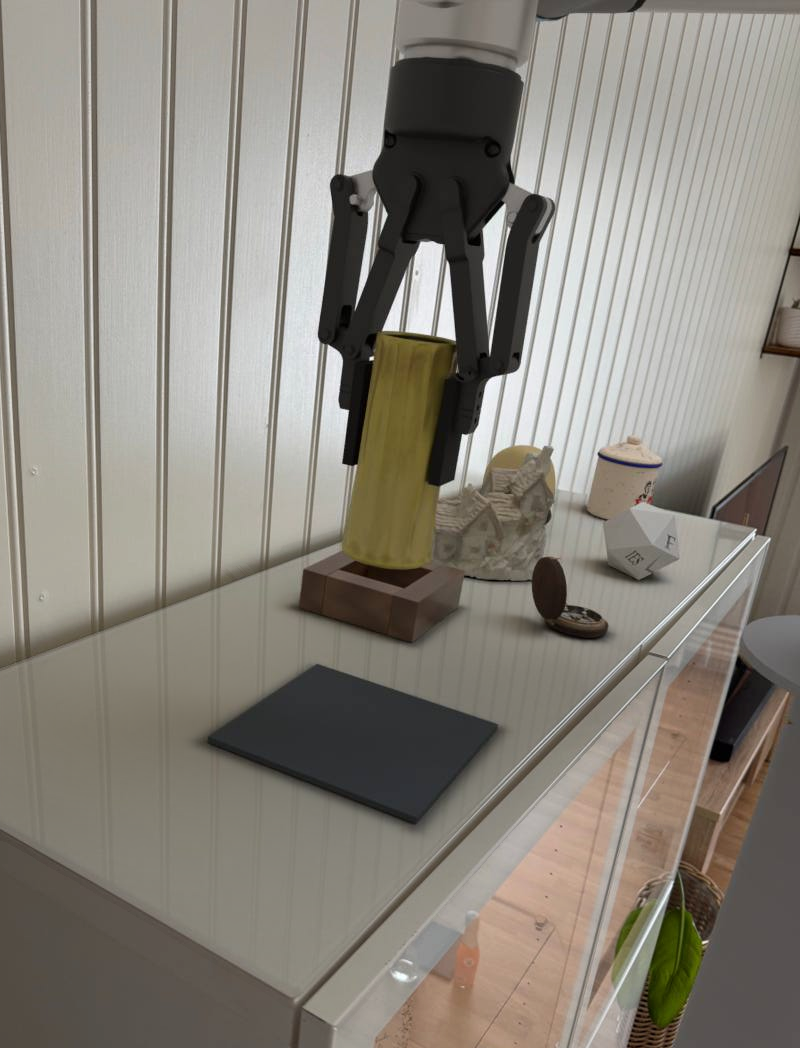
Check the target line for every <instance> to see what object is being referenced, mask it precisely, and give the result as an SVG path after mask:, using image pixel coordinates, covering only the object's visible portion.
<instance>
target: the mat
mask: <svg viewBox="0 0 800 1048" xmlns="http://www.w3.org/2000/svg"><path fill="white" fill-rule="evenodd" d="M498 728H499V724H498V723H496V722H493V721H490V720H487V719H483V718H481V717H478V716H475V715H472V714H469V713H466V712H463V711H460V710H456V709H454V708H451V707H448V706H445V705H442V704H440V703H435V702H433V701H430V700H427V699H424V698H421V697H419V696H416V695H412V694H409V693H406V692H404V691H400V690H397V689H395V688H392V687H388V686H385V685H382V684H379V683H376V682H374V681H371V680H367V679H364V678H361V677H358V676H356V675H352V674H350V673H346V672H343V671H340V670H337V669H334V668H332V667H328V666H325V665H322V664H319V663H316V664H314V665H313V666H312V667H310V668H308V669H306V670H305V671H304V672H303V673H301V674H299V675H298V676H297V677H295V678H293V679H291V680H290V681H289V682H287V683H285V684H284V685H283V686H281V687H280V688H278V689H277V690H275V691H274V692H272V693H270V694H269V695H267V696H266V697H265V698H263V699H262V700H260V701H259V702H257V703H256V704H254V705H253V706H251V707H250V708H249V709H247V710H246V711H244V712H242V713H241V714H239V715H238V716H237V717H235V718H233V719H232V720H230V721H229V722H228V723H226V724H224V725H222V726H221V727H219V728H218V729H217V730H215V731H213V732H212V733H210V734H209V735H208V736H207V740H206V741H207V742H206V743H208V744H211V745H213V746H216V747H218V748H221V749H223V750H226V751H229V752H231V753H234V754H236V755H239V756H242V757H244V758H246V759H249V760H252V761H254V762H257V763H259V764H261V765H265V766H267V767H269V768H272V769H275V770H277V771H279V772H282V773H285V774H287V775H290V776H292V777H294V778H297V779H300V780H302V781H305V782H308V783H310V784H312V785H315V786H318V787H321V788H322V789H325V790H328V791H330V792H334V793H336V794H338V795H341V796H343V797H346V798H348V799H351V800H353V801H356V802H358V803H361V804H364V805H366V806H368V807H371V808H374V809H377V810H378V811H381V812H384V813H387V814H390V815H392V816H394V817H396V818H400V819H402V820H405V821H407V822H409V823H412V824H415V825H416V824H417V823H418V822H419V821H420V820H421V819H422V817H423V816H424V815H425V814H426V813H427V812H428V811H429V809H430V808H431V807H432V806H433V805H434V804H435V802H436V801H437V800H438V799H439V798H440V797H441V796H442V795H443V793H444V792H445V791H446V789H447V788H448V787H449V786H450V785H451V784H452V783H453V782H454V780H455V779H456V778H457V777H458V776H459V775H460V773H461V772H462V771H463V770H464V768H465V767H466V766H467V765H468V764H469V763H470V762H471V761H472V759H474V757H475V756H476V755H477V753H479V751H480V750H481V749H482V748H483V747H484V745H485V744H486V743H487V742H488V741H489V740H490V738H492V736H493V735H494V734H495V733H496V731H497V730H498Z"/></svg>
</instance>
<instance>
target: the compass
mask: <svg viewBox="0 0 800 1048" xmlns="http://www.w3.org/2000/svg"><path fill="white" fill-rule="evenodd" d="M559 560H562V557H554V556H547V557H543V558H540V559H539V560H538V561H537V563H536V565H535V567H534V571H533V575H532V580H531V593H532V599H533V603H534V606H535V608H536V610H537V612H538V614H539V615H540V616H541V617H542V618H543V619H545V621H546V623H547V624H548V625H549V626H550V627H551V628H553V629H554V630H556V631H558V632H561V633H563V634H566V635H569V636H573V637H578V638H590V639H591V638H599V637H602V636H604V635H606V634H607V633H608V631H609V623H608V622H607V620H606V619H605V618H604V616H602V615H601V614H600V613H599V612H597V611H595V610H593V609H591V608H588V607H584V606H580V605H573V604H568V603H567V597H568V585H567V580H566V575H565V571H564V568H563V567H562V564H561V563H560V561H559Z"/></svg>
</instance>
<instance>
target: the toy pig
mask: <svg viewBox="0 0 800 1048" xmlns="http://www.w3.org/2000/svg"><path fill="white" fill-rule="evenodd" d="M529 452H533V453H538V454H541V453H542V449H541V448H539V447H536V446H532V445H529V444H528V445H526V444H519V445H512V446H508V447H506V448H504V449H503V448H502V449H501V450H500V451H498V452H497V453H495V455H494V456H493V457H492V458H491V459H490V460H489V462H488V464H487V466H486V468H485V471H484V474H483V479H482V484H483V483H484V482H485V479H486V477H487V475H488V472H489V471H490V470H491V468H501V469H512V470H516V469H520V468H522V465H523V463H524V460H525V457H526V454H528V453H529ZM551 458H552V457H550V459H551ZM555 471H556V470H555V466H554V463H553V460H552V459H551V467H550V471H549V473H548V475H547V476H546V481H547V484H548V487H549V488H550V489H551V492H553V494H554V497H555V496H556V472H555ZM552 507H553V504H552V505H551V506H550V508H549V512H548V515H547V519H546V522H545V525H544V526H545V527H546V526H547V525H548V524H549V523H550V522H551V520H552V515H553V514H552V511H551V508H552Z"/></svg>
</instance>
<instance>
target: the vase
mask: <svg viewBox="0 0 800 1048" xmlns="http://www.w3.org/2000/svg"><path fill="white" fill-rule="evenodd" d="M372 360H373V367H372V375H371V381H370V388H369V394H368V401H367V408H366V414H365V420H364V426H363V432H362V438H361V444H360V451H359V458H358V463H357V465H356V469H355V475H354V480H353V484H352V488H351V495H350V496H351V497H350V502H349V508H348V514H347V519H346V524H345V530H344V534H343V538H342V542H341V545H340V546H341V551H342V550H343V551H344V553H345V554H346V555H347V556H349V557H350V558H352V559H354V560H356V561H358V562H361V563H364V564H367V565H371V566H376V567H381V568H387V569H415V568H419V567H422V566H425V565H426V564H428V563H429V562H430V560H431V558H432V541H433V533H434V526H435V519H436V511H437V503H438V498H439V496H440V487H438V486H433V485H429V484H428V481H429V475H430V468H431V462H432V456H433V450H434V444H435V438H436V432H437V425H438V419H439V413H440V407H441V401H442V395H443V389H444V382H445V379H449V378H454V377H455V375H454V373H457V372H458V361H457V349H456V340H455V339H451V338H447V337H442V336H437V335H430V334H425V333H419V332H408V331H398V330H382V331H379V332H377V336H376V344H375V352H374V357H373V359H372Z"/></svg>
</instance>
